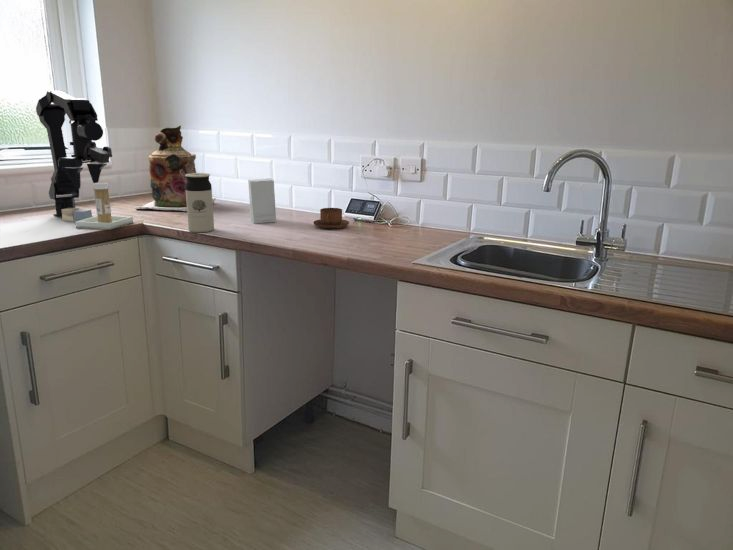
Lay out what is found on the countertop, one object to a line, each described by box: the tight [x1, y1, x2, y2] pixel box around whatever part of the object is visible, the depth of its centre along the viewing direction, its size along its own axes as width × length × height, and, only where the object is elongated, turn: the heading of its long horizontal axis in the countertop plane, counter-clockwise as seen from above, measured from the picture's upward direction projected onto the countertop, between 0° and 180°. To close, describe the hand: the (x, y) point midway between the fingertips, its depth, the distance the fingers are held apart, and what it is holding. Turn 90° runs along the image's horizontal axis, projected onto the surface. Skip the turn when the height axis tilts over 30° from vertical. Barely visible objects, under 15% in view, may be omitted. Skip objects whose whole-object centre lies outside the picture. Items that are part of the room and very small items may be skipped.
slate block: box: [73, 208, 93, 223], centre depth 195 cm, size 4×4×4 cm
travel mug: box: [185, 172, 215, 233], centre depth 181 cm, size 8×8×18 cm
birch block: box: [61, 207, 80, 222], centre depth 198 cm, size 4×4×4 cm
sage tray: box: [74, 215, 134, 230], centre depth 190 cm, size 13×13×2 cm
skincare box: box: [247, 177, 277, 225], centre depth 197 cm, size 8×6×15 cm
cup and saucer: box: [313, 207, 350, 230], centre depth 190 cm, size 12×12×6 cm
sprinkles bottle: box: [92, 181, 112, 223], centre depth 188 cm, size 5×5×14 cm
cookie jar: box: [134, 124, 217, 212], centre depth 224 cm, size 25×25×32 cm
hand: (87, 186), depth 189 cm, fingers open, 9 cm apart
